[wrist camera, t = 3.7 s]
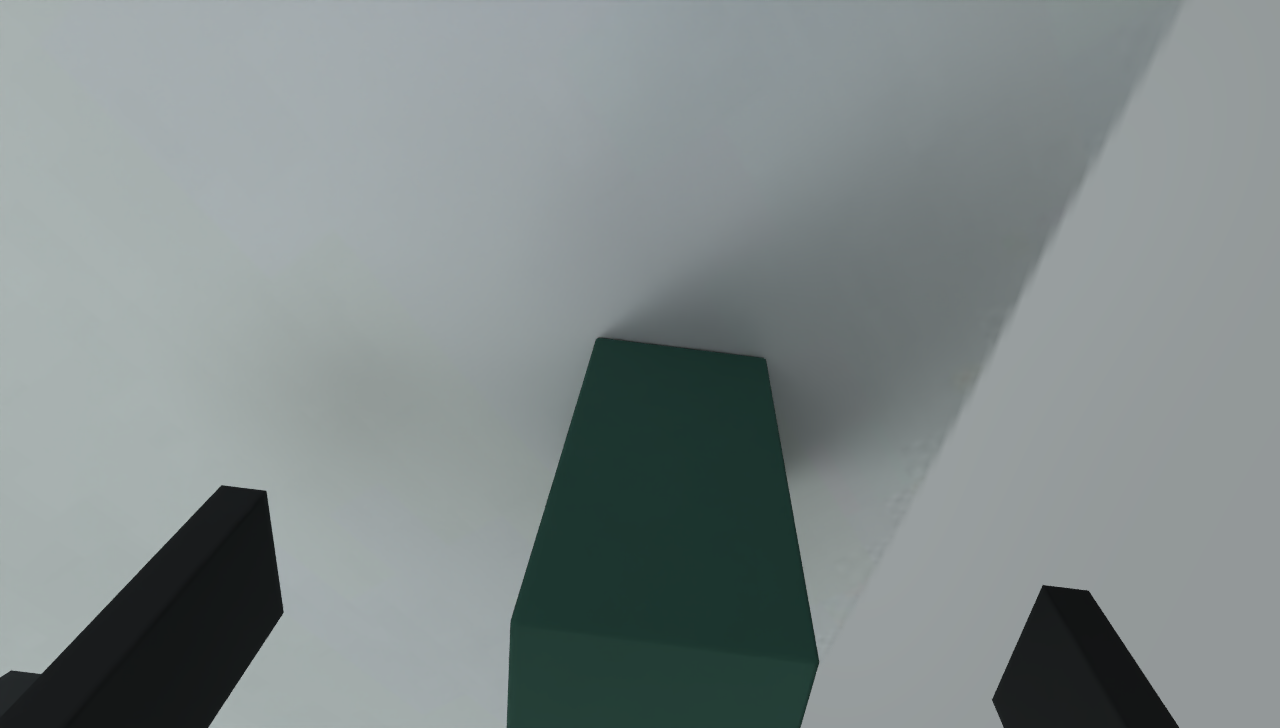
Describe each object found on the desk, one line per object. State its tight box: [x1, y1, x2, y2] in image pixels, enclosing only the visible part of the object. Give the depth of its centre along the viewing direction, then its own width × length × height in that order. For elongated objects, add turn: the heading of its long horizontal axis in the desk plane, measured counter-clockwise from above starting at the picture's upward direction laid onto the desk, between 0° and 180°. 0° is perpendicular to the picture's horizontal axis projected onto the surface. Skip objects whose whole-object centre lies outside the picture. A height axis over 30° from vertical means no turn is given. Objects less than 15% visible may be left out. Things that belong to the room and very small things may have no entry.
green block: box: [507, 338, 819, 728], centre depth 15 cm, size 4×4×9 cm
